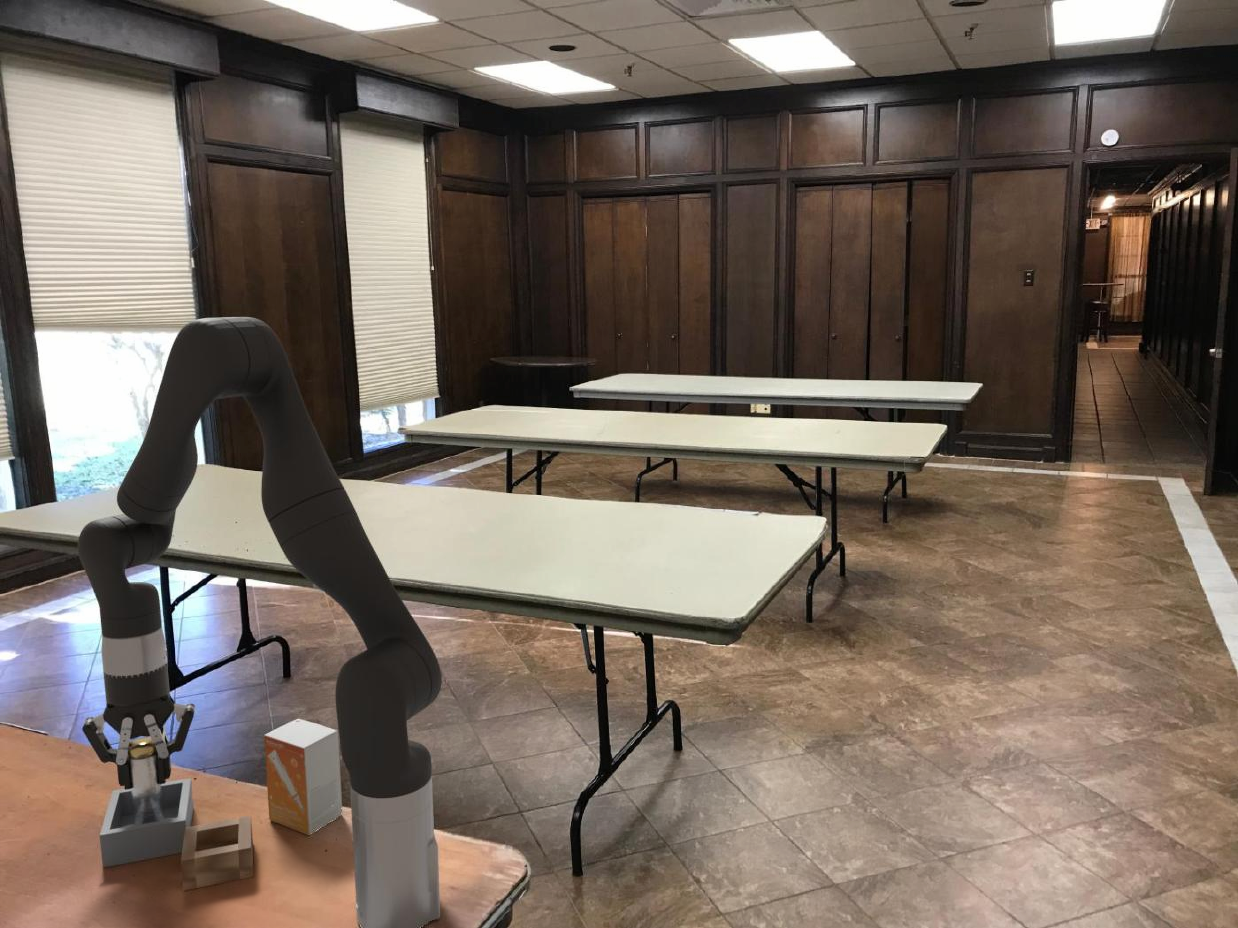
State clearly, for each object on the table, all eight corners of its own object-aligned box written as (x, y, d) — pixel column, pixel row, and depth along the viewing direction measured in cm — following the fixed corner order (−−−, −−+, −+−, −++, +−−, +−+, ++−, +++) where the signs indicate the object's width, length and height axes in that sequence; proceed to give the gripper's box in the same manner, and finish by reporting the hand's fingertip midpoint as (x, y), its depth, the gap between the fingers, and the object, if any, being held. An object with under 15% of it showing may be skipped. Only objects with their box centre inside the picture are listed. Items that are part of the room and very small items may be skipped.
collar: (252, 843, 126) (250, 815, 125) (252, 876, 119) (250, 847, 118) (187, 855, 123) (185, 827, 123) (183, 890, 116) (181, 860, 115)
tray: (193, 806, 135) (191, 777, 135) (188, 851, 124) (185, 820, 123) (115, 820, 132) (112, 790, 131) (102, 867, 121) (99, 835, 120)
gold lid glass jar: (165, 809, 130) (158, 735, 128) (162, 822, 127) (155, 746, 125) (135, 814, 129) (128, 739, 127) (132, 828, 125) (125, 751, 123)
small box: (268, 821, 132) (262, 734, 129) (303, 800, 137) (298, 716, 135) (309, 837, 128) (303, 747, 125) (344, 815, 133) (339, 729, 131)
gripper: (68, 680, 118) (82, 807, 121) (192, 665, 123) (202, 787, 126) (79, 660, 125) (91, 780, 128) (195, 646, 130) (204, 762, 133)
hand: (146, 783), depth 127 cm, fingers closed on gold lid glass jar, 3 cm apart
